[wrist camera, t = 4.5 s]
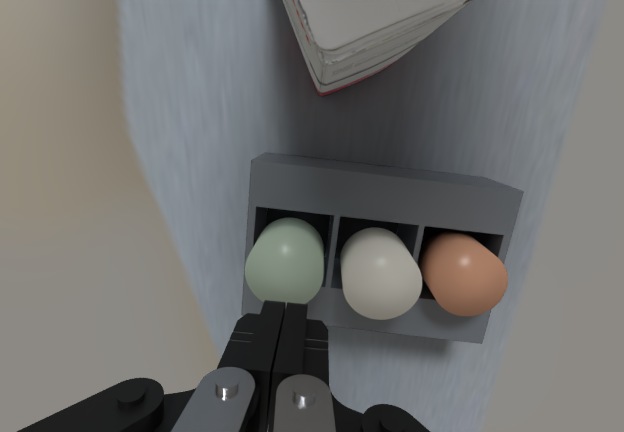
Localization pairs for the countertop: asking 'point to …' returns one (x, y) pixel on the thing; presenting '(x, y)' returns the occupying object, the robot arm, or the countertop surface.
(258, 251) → the sage button
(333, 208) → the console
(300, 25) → the ink box
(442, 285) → the terracotta button
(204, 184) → the countertop surface
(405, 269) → the cream button
